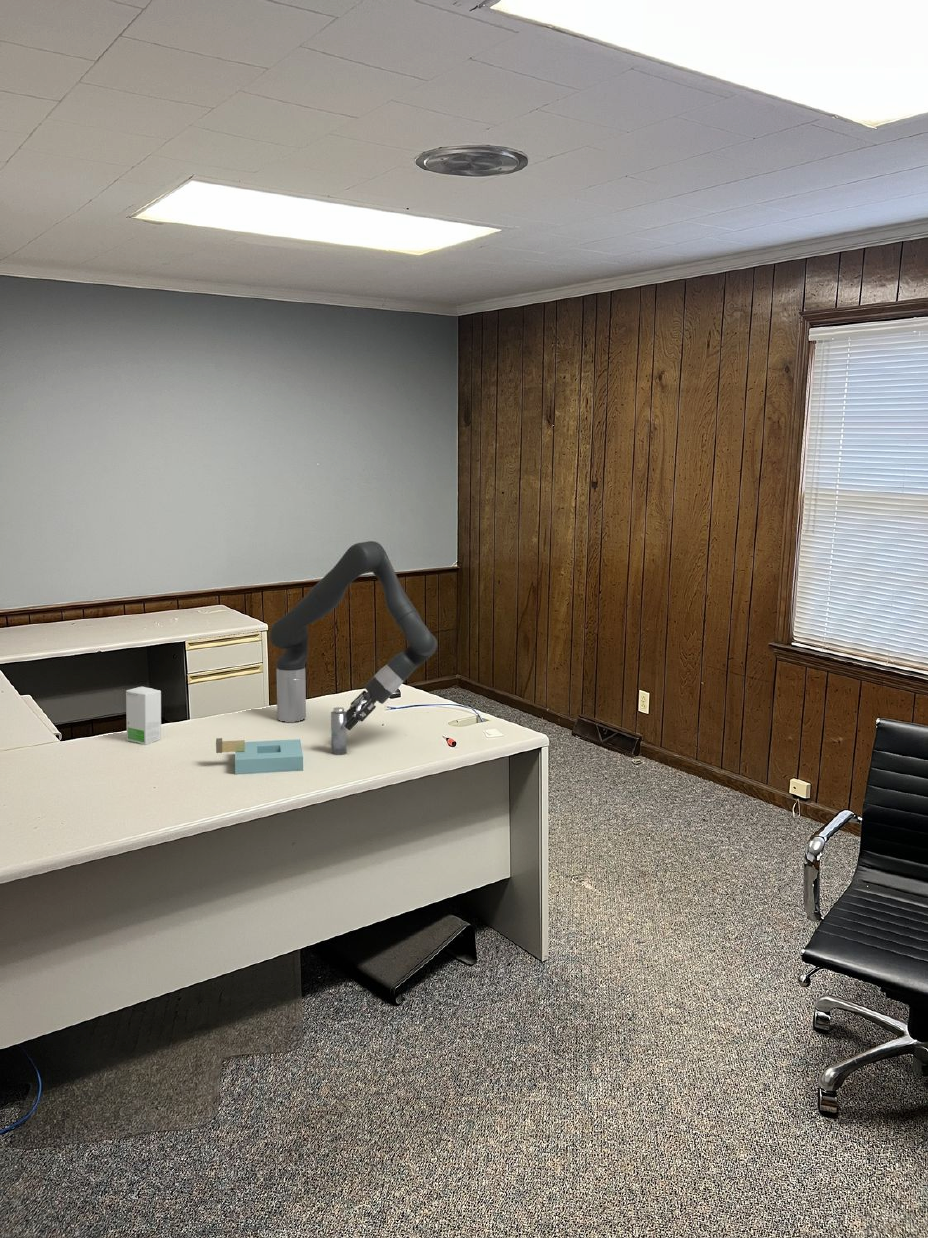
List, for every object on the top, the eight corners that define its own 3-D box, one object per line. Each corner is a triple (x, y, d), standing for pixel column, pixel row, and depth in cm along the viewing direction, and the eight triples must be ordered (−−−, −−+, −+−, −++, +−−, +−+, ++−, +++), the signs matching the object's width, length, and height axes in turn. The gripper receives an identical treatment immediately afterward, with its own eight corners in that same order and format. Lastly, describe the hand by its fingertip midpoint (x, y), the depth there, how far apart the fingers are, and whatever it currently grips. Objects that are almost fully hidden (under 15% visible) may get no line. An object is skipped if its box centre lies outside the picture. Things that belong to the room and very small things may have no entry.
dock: (236, 755, 259) (236, 742, 258) (300, 752, 263) (300, 739, 262) (235, 774, 243) (235, 760, 243) (303, 770, 248) (303, 756, 247)
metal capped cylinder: (330, 750, 265) (330, 707, 263) (345, 749, 266) (345, 706, 264) (332, 755, 261) (331, 710, 259) (347, 754, 262) (347, 710, 260)
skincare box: (126, 741, 271) (123, 690, 268) (143, 735, 277) (141, 685, 274) (146, 745, 267) (144, 694, 265) (163, 739, 273) (161, 689, 270)
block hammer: (216, 749, 251) (216, 738, 250) (244, 748, 253) (244, 737, 252) (216, 753, 248) (215, 741, 247) (244, 751, 249) (244, 740, 249)
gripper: (372, 670, 269) (333, 709, 268) (378, 681, 255) (337, 722, 255) (389, 686, 271) (351, 725, 270) (397, 698, 257) (356, 739, 257)
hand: (344, 724), depth 262 cm, fingers open, 8 cm apart
